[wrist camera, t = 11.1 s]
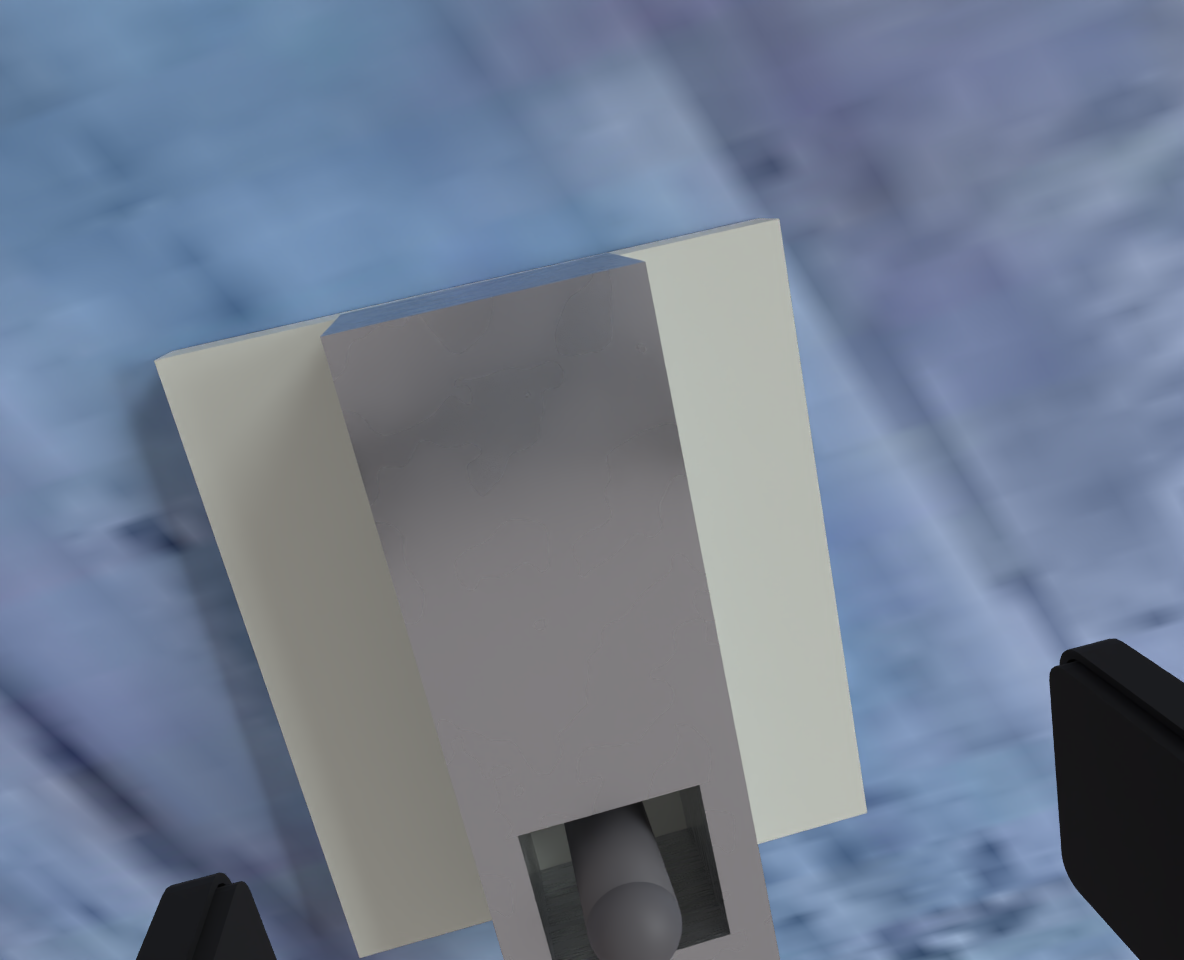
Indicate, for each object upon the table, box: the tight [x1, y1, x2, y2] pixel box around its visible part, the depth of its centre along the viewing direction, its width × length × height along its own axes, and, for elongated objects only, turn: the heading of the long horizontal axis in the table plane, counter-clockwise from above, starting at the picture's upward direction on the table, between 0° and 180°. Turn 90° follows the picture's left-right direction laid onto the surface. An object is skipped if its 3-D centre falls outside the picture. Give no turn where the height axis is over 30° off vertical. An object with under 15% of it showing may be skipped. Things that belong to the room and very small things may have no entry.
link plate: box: [320, 253, 780, 960], centre depth 22 cm, size 16×6×4 cm, turn 12°
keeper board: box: [154, 218, 867, 960], centre depth 22 cm, size 16×14×8 cm
